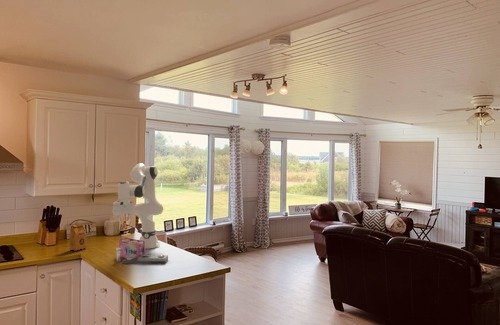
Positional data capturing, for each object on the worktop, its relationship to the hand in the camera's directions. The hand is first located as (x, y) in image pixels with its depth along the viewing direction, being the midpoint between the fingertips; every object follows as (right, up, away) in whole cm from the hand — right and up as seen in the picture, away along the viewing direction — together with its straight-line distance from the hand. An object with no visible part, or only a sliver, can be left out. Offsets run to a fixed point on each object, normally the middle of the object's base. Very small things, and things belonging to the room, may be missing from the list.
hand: (123, 220), depth 283 cm
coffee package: (-51, -31, +33) cm, 68 cm away
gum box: (+4, -31, +7) cm, 32 cm away
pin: (-2, -31, -5) cm, 31 cm away
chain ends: (+19, -31, -7) cm, 36 cm away
